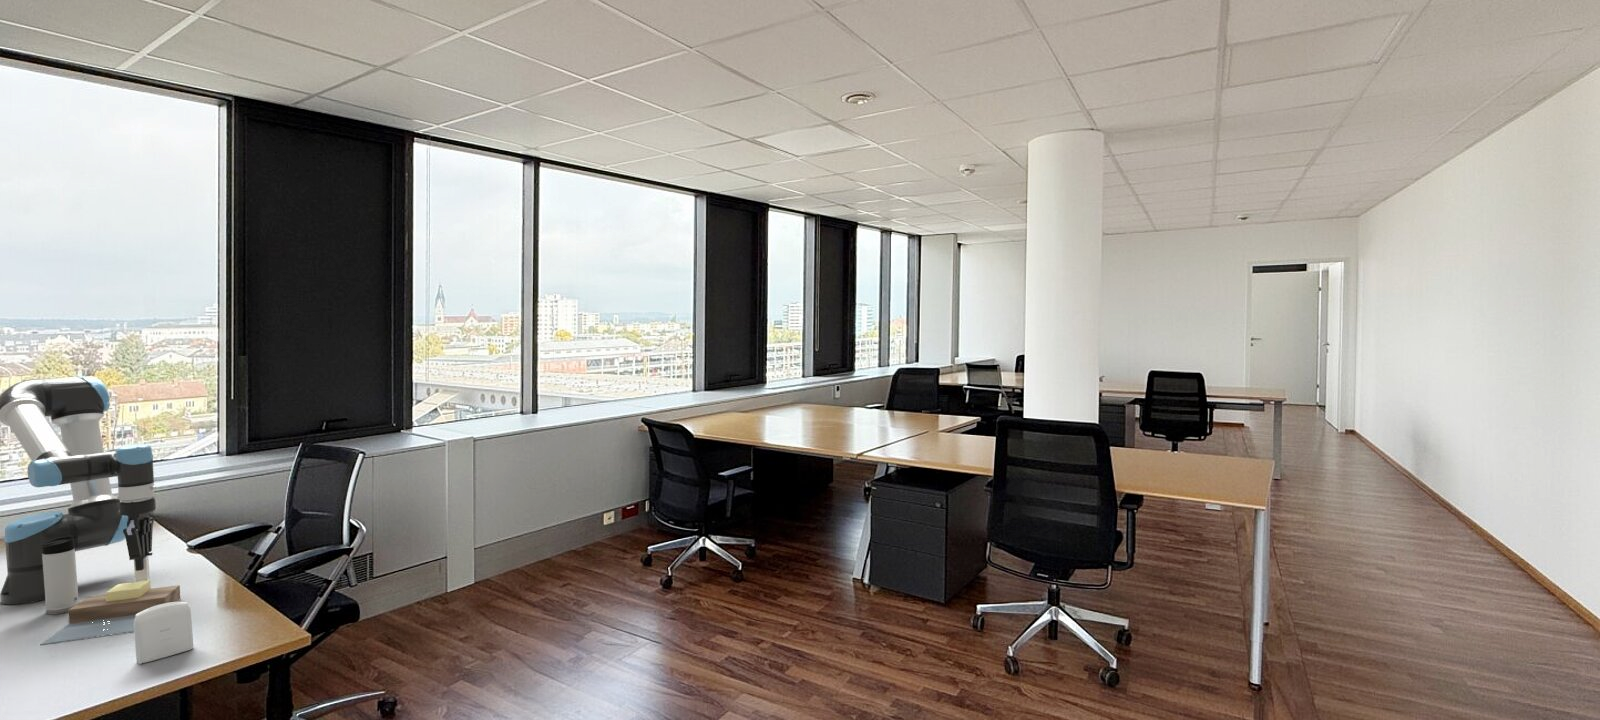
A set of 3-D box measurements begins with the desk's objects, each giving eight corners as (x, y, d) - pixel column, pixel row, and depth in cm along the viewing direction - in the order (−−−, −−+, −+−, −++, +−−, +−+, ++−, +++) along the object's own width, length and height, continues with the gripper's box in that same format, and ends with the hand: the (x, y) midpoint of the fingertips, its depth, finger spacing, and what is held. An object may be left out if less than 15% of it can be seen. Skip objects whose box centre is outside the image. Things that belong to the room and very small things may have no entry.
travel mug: (85, 606, 199) (80, 536, 198) (54, 615, 193) (49, 543, 192) (72, 603, 201) (67, 534, 200) (41, 613, 195) (35, 541, 194)
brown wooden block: (89, 610, 196) (88, 596, 196) (180, 598, 204) (179, 585, 204) (69, 624, 187) (68, 609, 187) (165, 611, 195) (164, 597, 195)
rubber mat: (69, 624, 187) (69, 623, 187) (165, 611, 195) (165, 610, 195) (40, 645, 175) (40, 644, 175) (144, 630, 183) (144, 629, 183)
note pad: (118, 592, 198) (118, 584, 198) (150, 588, 201) (150, 580, 201) (106, 601, 192) (105, 592, 192) (139, 597, 195) (138, 588, 195)
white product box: (137, 666, 164) (134, 613, 163) (134, 660, 166) (131, 609, 166) (195, 650, 171) (192, 600, 171) (191, 645, 174) (188, 595, 174)
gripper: (143, 502, 199) (149, 585, 200) (163, 492, 210) (168, 570, 212) (108, 506, 196) (114, 589, 197) (131, 495, 207) (136, 574, 209)
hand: (142, 579), depth 204 cm, fingers closed
